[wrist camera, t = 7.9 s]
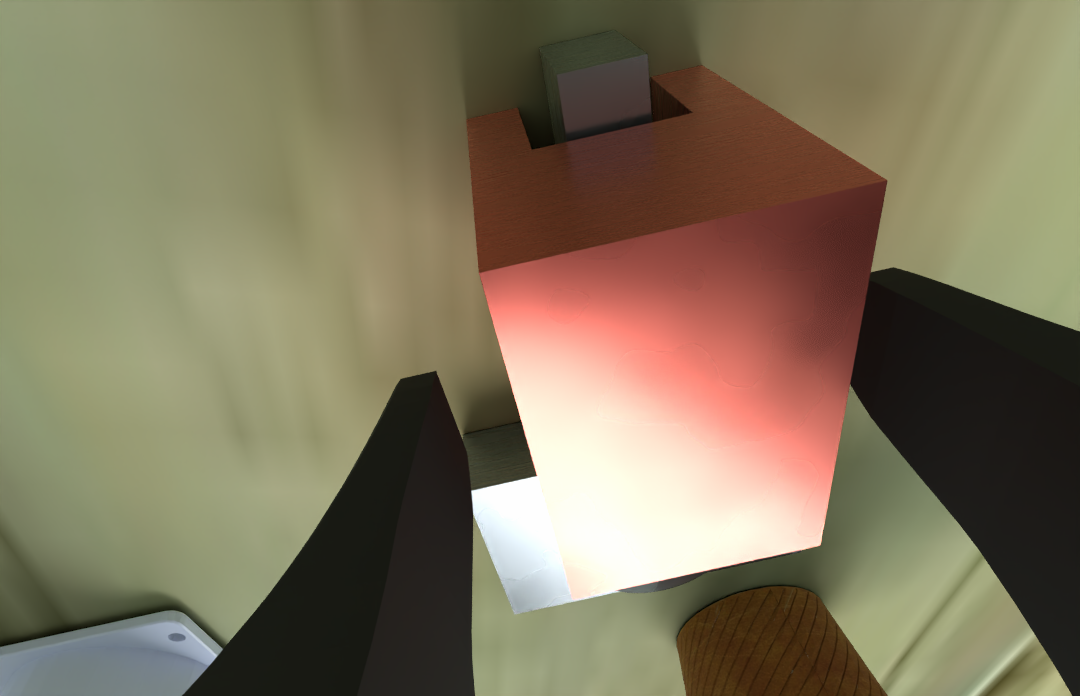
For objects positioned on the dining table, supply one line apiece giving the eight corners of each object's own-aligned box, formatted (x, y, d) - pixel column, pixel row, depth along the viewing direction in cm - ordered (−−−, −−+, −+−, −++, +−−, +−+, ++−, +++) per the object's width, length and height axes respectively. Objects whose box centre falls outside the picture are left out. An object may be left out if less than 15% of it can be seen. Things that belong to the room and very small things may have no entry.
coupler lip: (772, 500, 20) (813, 575, 17) (509, 557, 20) (516, 640, 18) (821, -18, 11) (920, 2, 8) (334, 94, 11) (304, 143, 8)
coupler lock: (706, 349, 15) (820, 545, 11) (534, 387, 16) (572, 600, 11) (701, 65, 11) (886, 180, 6) (466, 118, 11) (478, 272, 7)
